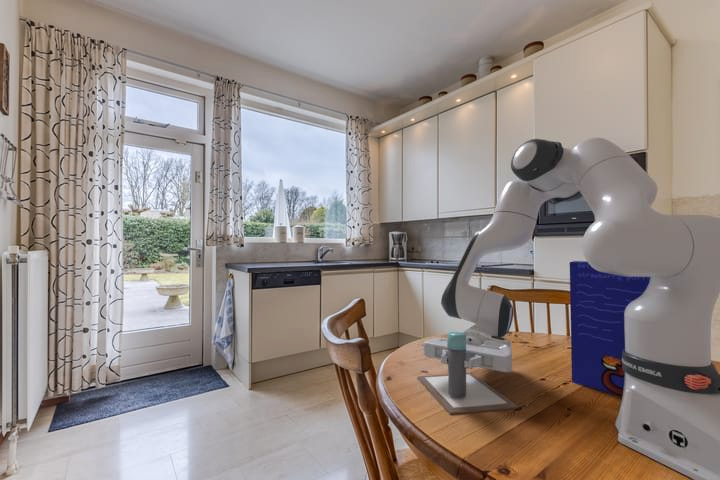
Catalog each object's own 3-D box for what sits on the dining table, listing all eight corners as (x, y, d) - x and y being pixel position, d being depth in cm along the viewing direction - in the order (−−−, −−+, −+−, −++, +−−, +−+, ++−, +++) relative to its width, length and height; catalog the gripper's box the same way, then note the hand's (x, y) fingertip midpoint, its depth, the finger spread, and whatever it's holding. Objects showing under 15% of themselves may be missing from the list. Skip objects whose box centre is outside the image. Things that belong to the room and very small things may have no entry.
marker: (470, 396, 71) (469, 335, 71) (452, 398, 70) (452, 336, 71) (461, 389, 75) (460, 331, 75) (444, 390, 74) (444, 332, 75)
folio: (517, 408, 68) (517, 405, 69) (450, 414, 66) (450, 411, 66) (471, 374, 87) (471, 371, 87) (417, 378, 85) (417, 375, 85)
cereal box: (701, 409, 68) (696, 263, 69) (695, 417, 65) (690, 264, 65) (581, 376, 86) (579, 260, 86) (571, 382, 82) (569, 261, 83)
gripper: (434, 329, 89) (412, 340, 78) (517, 340, 78) (504, 356, 66) (435, 352, 89) (412, 367, 78) (517, 367, 78) (505, 388, 66)
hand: (455, 362), depth 72 cm, fingers closed on marker, 4 cm apart
